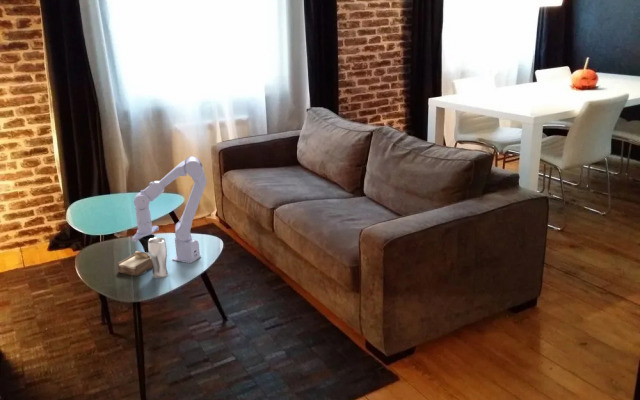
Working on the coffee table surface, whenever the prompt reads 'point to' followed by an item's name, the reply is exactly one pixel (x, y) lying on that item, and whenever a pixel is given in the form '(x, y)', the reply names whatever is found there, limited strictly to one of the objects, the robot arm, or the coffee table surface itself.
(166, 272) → the beer glass
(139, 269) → the box
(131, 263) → the lid
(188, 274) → the coffee table surface
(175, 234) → the robot arm
